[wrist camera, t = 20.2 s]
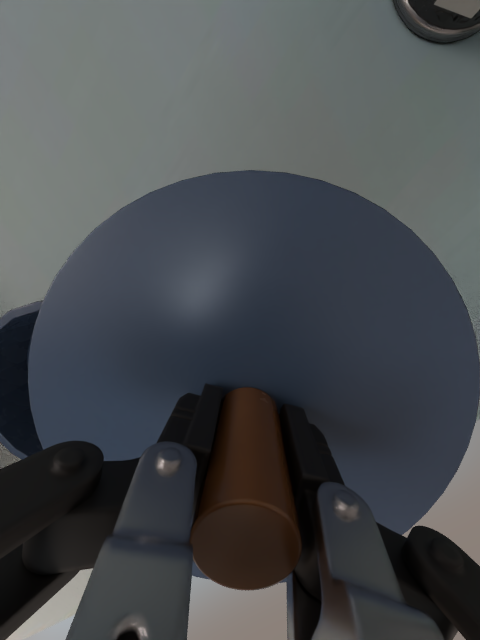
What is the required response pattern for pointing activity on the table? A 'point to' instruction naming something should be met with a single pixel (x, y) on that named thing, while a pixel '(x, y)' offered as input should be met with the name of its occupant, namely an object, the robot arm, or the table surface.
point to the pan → (17, 381)
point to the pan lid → (262, 353)
